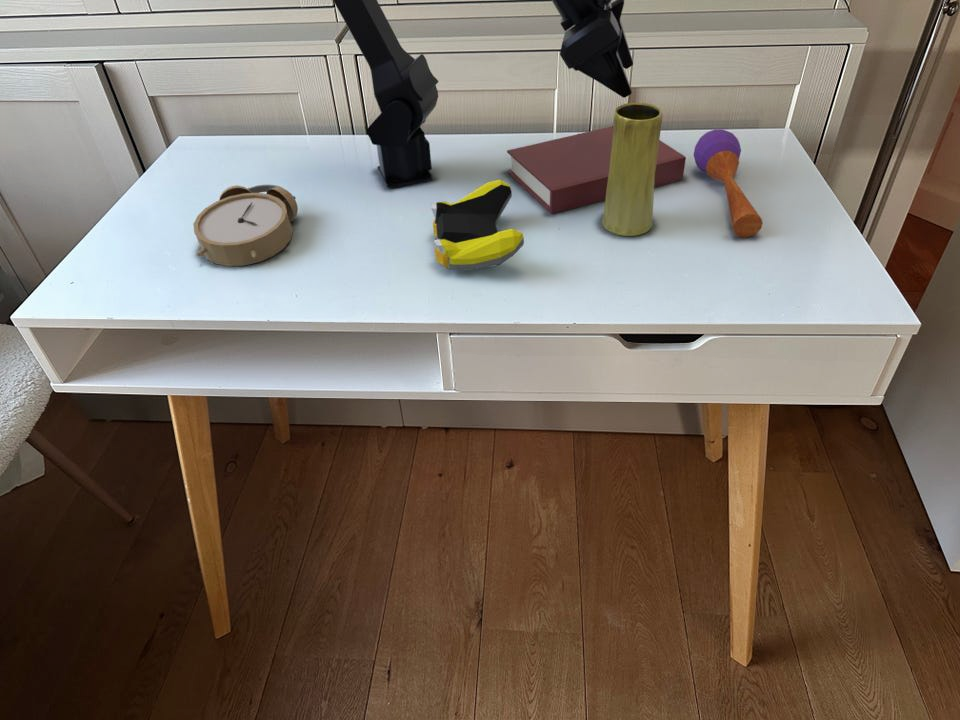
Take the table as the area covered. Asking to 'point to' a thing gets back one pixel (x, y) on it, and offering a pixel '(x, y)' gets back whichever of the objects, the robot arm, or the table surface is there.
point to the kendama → (727, 177)
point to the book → (579, 169)
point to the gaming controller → (475, 229)
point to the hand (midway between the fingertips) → (629, 80)
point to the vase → (632, 169)
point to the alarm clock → (246, 225)
